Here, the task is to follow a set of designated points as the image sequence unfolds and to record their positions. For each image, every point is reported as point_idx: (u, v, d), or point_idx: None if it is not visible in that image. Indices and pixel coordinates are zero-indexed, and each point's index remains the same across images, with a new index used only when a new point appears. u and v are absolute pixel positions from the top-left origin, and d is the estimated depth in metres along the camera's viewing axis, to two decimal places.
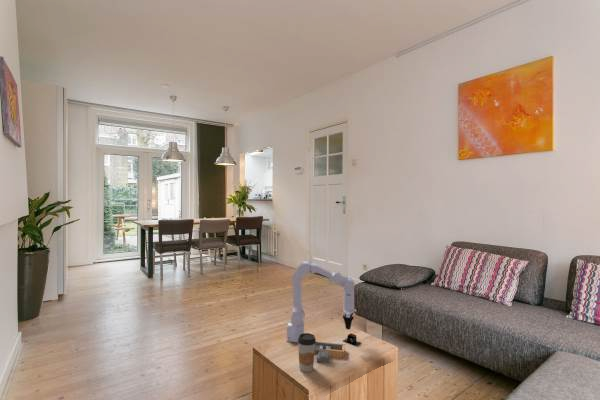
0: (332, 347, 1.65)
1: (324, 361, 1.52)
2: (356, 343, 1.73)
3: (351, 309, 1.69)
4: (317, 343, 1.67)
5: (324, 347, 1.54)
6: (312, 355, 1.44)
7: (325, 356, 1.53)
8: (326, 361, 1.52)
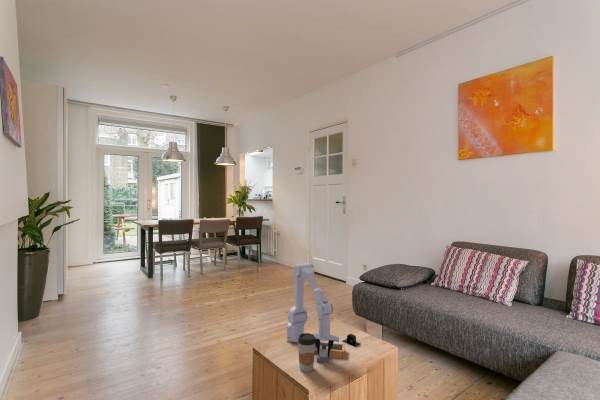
0: (332, 347, 1.65)
1: (324, 361, 1.52)
2: (355, 344, 1.72)
3: (319, 335, 1.54)
4: None
5: (324, 347, 1.54)
6: (312, 355, 1.44)
7: (325, 356, 1.53)
8: (326, 361, 1.52)
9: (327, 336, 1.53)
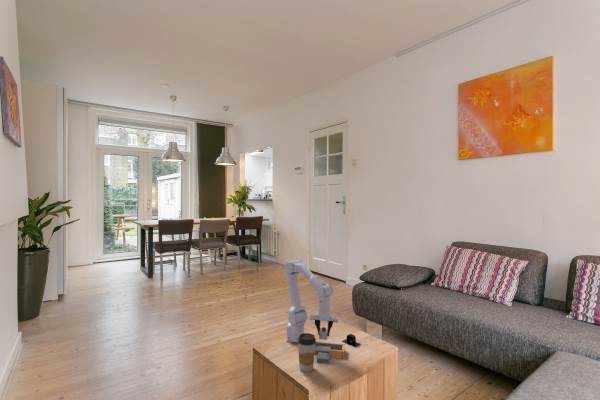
0: (332, 347, 1.65)
1: (324, 361, 1.52)
2: (355, 344, 1.72)
3: (319, 316, 1.60)
4: (317, 343, 1.67)
5: (324, 329, 1.60)
6: (312, 355, 1.44)
7: (325, 338, 1.59)
8: (326, 361, 1.52)
9: (327, 317, 1.59)
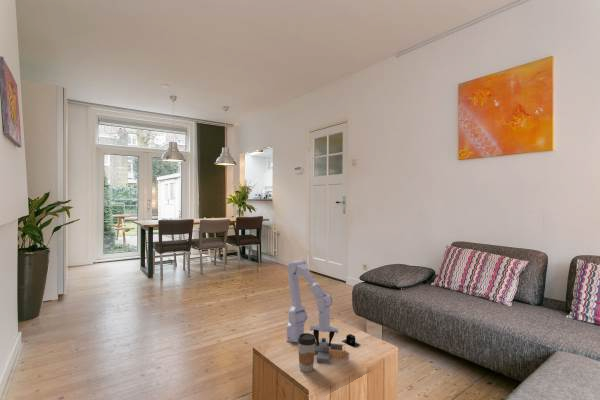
0: (332, 347, 1.65)
1: (324, 361, 1.52)
2: (354, 344, 1.72)
3: (319, 327, 1.62)
4: None
5: (324, 340, 1.62)
6: (312, 355, 1.44)
7: (325, 349, 1.61)
8: (326, 361, 1.52)
9: (327, 327, 1.61)
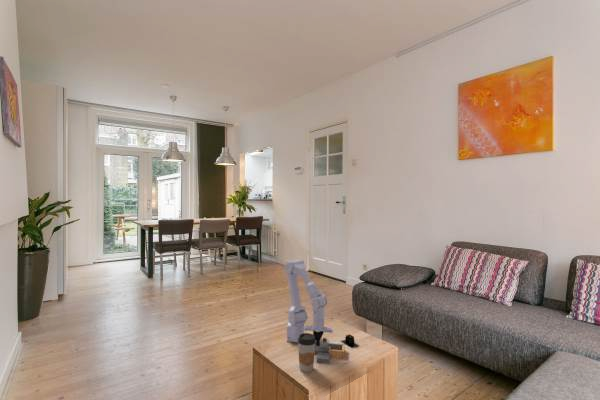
0: (332, 347, 1.65)
1: (324, 361, 1.52)
2: (353, 345, 1.71)
3: (313, 327, 1.62)
4: None
5: (325, 340, 1.62)
6: (312, 355, 1.44)
7: (326, 349, 1.61)
8: (326, 361, 1.52)
9: (321, 327, 1.61)
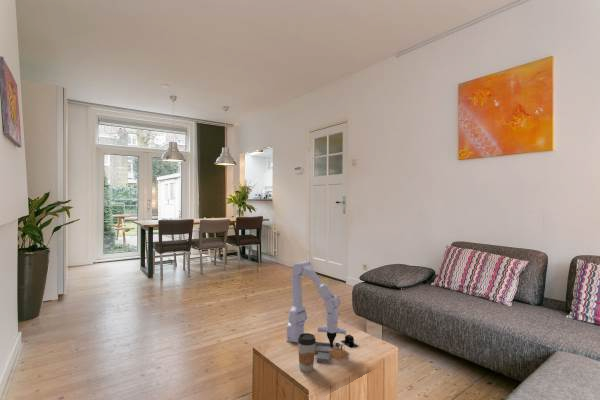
0: None
1: (324, 361, 1.52)
2: (352, 345, 1.71)
3: (327, 328, 1.61)
4: (317, 343, 1.67)
5: (338, 345, 1.60)
6: (312, 355, 1.44)
7: None
8: (326, 361, 1.52)
9: (335, 329, 1.60)
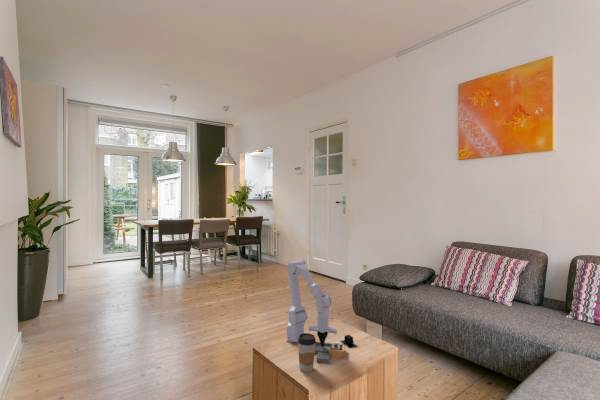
0: None
1: (324, 361, 1.52)
2: (351, 345, 1.71)
3: (318, 327, 1.62)
4: (317, 343, 1.67)
5: (336, 346, 1.61)
6: (312, 355, 1.44)
7: None
8: (326, 361, 1.52)
9: (325, 328, 1.61)
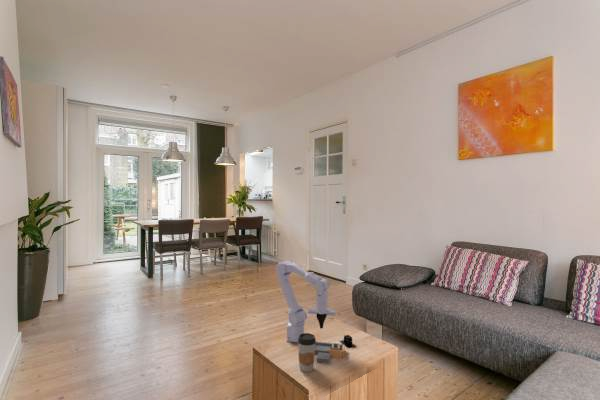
0: None
1: (324, 361, 1.52)
2: (350, 345, 1.70)
3: (317, 309, 1.67)
4: (317, 343, 1.67)
5: (336, 346, 1.61)
6: (312, 355, 1.44)
7: None
8: (326, 361, 1.52)
9: (324, 310, 1.66)
